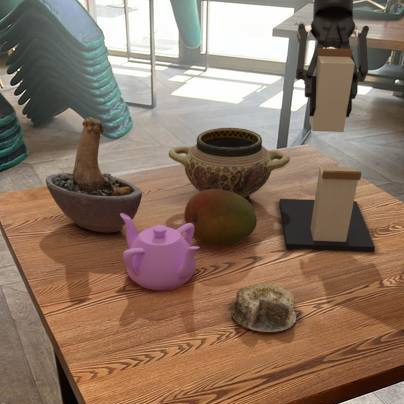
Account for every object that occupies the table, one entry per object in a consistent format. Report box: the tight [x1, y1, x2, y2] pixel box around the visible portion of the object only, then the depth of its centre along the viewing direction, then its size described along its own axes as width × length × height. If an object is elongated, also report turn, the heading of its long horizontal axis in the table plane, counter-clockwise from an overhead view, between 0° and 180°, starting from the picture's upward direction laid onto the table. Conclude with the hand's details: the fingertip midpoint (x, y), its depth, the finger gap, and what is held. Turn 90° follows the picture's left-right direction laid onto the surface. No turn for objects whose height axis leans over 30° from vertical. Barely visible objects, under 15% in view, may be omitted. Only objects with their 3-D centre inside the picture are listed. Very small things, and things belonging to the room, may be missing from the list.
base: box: [278, 166, 376, 253], centre depth 108 cm, size 16×20×14 cm
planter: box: [45, 116, 143, 234], centre depth 104 cm, size 15×17×20 cm
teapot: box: [120, 213, 201, 291], centre depth 94 cm, size 12×14×9 cm
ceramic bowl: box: [167, 127, 291, 202], centre depth 117 cm, size 24×18×15 cm
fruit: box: [184, 189, 258, 247], centre depth 103 cm, size 12×13×10 cm
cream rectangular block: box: [309, 47, 356, 133], centre depth 109 cm, size 6×6×13 cm
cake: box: [231, 283, 297, 333], centre depth 86 cm, size 10×10×5 cm
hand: (330, 112), depth 109 cm, fingers closed on cream rectangular block, 6 cm apart
